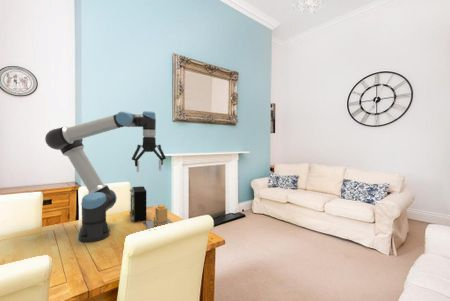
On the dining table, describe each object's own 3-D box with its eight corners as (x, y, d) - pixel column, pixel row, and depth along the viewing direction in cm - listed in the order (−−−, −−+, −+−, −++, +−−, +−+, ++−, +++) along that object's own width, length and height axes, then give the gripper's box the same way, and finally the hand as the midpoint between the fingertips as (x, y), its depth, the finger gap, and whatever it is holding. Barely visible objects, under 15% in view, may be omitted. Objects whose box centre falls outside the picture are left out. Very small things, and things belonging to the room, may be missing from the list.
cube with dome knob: (158, 222, 149) (158, 207, 149) (155, 219, 154) (155, 205, 154) (167, 220, 153) (167, 205, 152) (164, 218, 158) (164, 203, 157)
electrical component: (129, 214, 167) (129, 187, 166) (144, 213, 171) (144, 186, 170) (131, 222, 151) (131, 192, 150) (147, 220, 155) (147, 191, 154)
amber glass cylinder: (154, 226, 143) (154, 218, 143) (153, 225, 145) (153, 217, 144) (157, 225, 144) (157, 217, 144) (156, 224, 146) (156, 216, 146)
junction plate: (149, 230, 138) (149, 229, 138) (143, 223, 150) (143, 222, 150) (174, 225, 147) (174, 224, 147) (167, 218, 159) (167, 217, 159)
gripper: (128, 136, 133) (129, 173, 134) (170, 137, 147) (170, 170, 147) (126, 136, 139) (126, 171, 140) (166, 137, 153) (166, 169, 154)
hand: (149, 171), depth 144 cm, fingers open, 13 cm apart
